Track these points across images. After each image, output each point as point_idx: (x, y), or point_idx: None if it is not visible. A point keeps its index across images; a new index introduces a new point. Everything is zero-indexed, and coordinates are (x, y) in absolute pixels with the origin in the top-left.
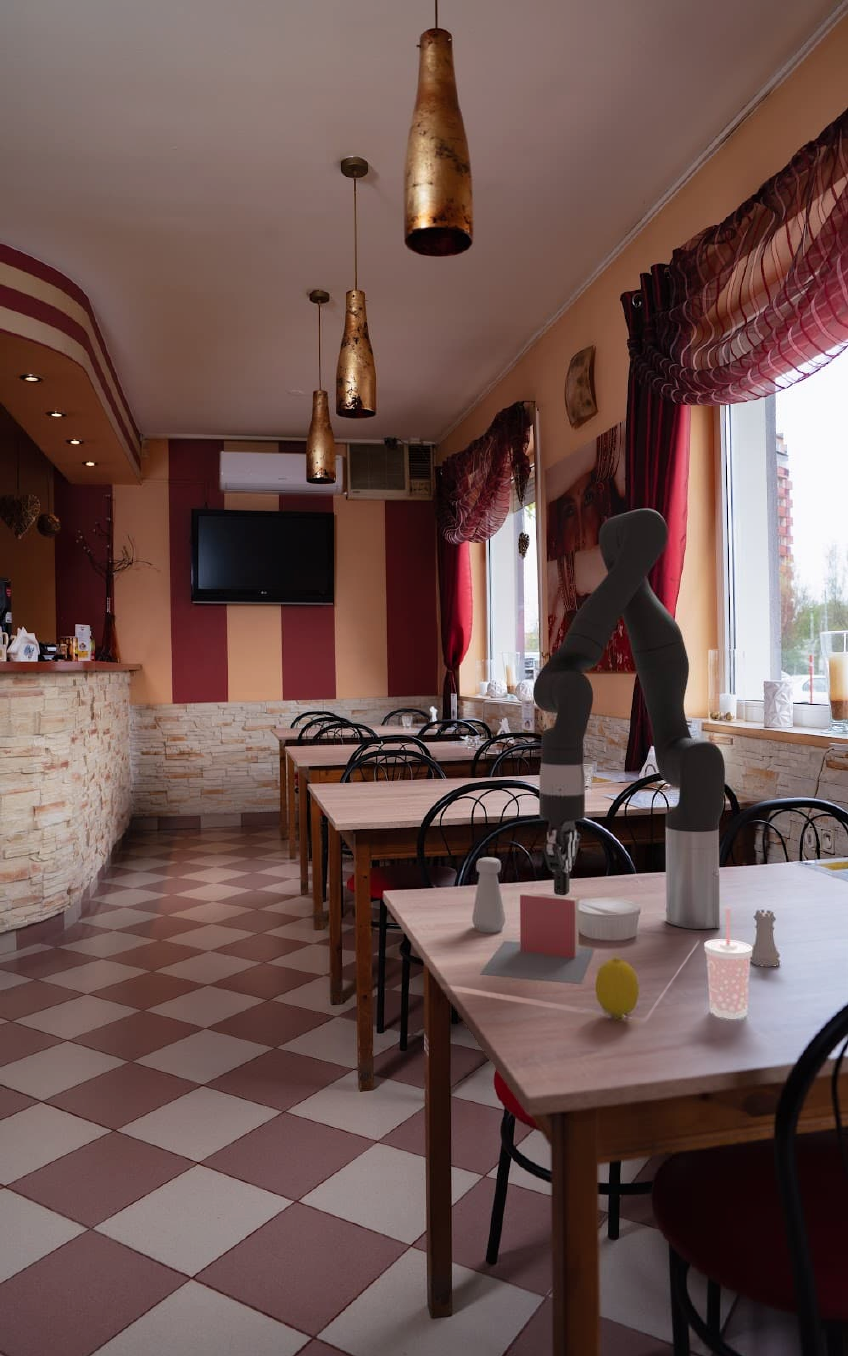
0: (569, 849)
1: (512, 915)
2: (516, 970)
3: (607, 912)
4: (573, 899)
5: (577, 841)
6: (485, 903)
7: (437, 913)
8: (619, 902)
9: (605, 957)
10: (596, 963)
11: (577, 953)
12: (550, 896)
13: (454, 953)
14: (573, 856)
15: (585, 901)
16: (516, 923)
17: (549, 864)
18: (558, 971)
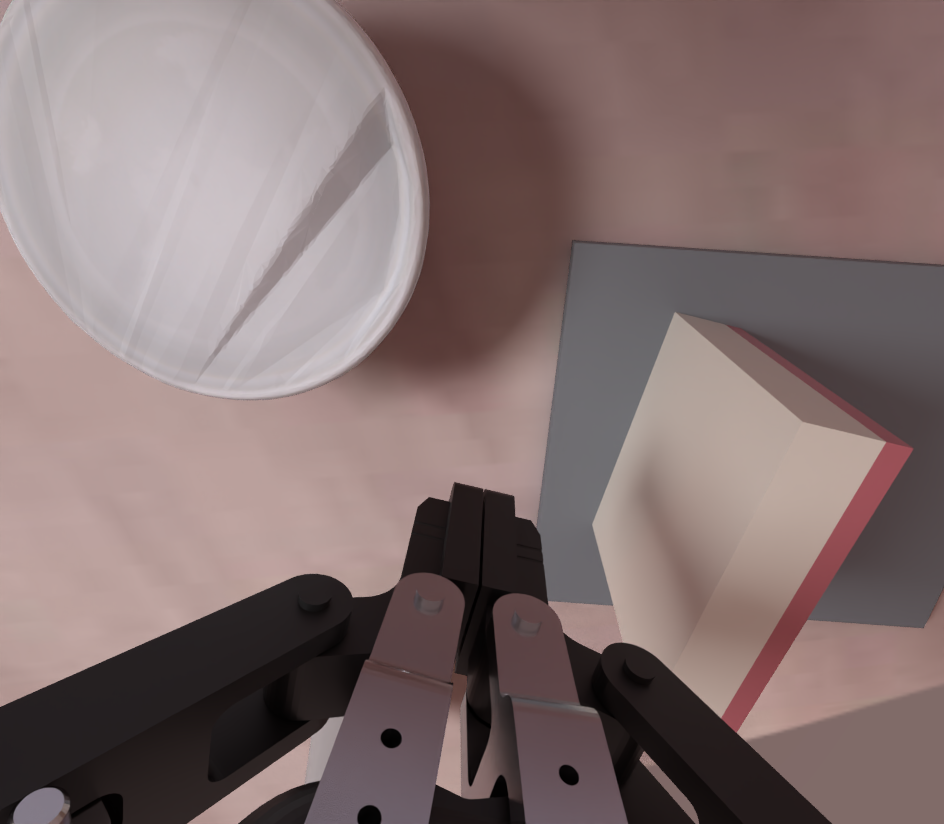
0: (578, 811)
1: (137, 600)
2: (893, 527)
3: (334, 190)
4: (852, 454)
5: (28, 763)
6: None
7: (225, 797)
8: (79, 109)
9: (645, 182)
10: (740, 223)
11: (697, 319)
12: (759, 596)
13: None
14: (299, 646)
15: (152, 343)
16: (241, 577)
17: (669, 798)
18: (918, 380)
